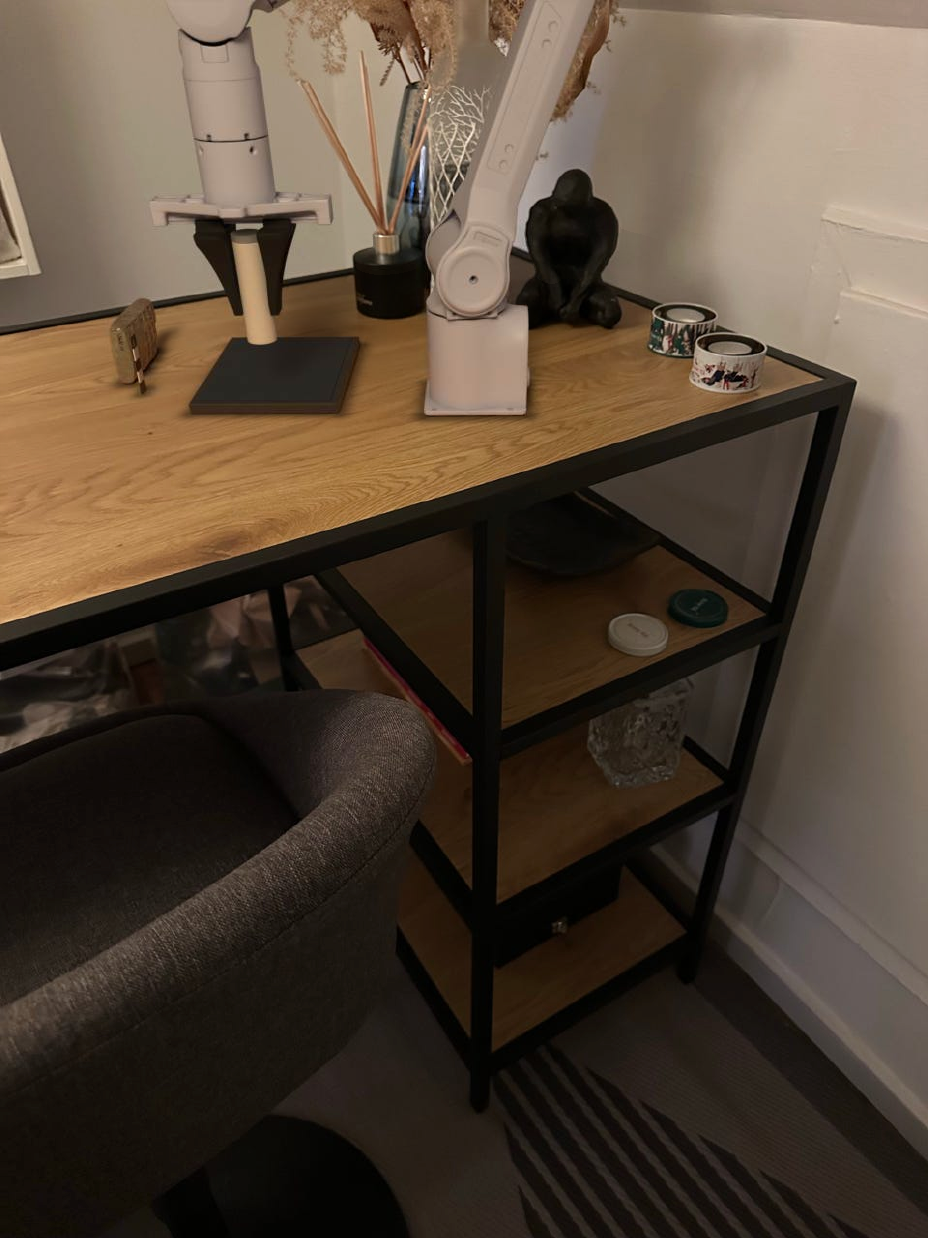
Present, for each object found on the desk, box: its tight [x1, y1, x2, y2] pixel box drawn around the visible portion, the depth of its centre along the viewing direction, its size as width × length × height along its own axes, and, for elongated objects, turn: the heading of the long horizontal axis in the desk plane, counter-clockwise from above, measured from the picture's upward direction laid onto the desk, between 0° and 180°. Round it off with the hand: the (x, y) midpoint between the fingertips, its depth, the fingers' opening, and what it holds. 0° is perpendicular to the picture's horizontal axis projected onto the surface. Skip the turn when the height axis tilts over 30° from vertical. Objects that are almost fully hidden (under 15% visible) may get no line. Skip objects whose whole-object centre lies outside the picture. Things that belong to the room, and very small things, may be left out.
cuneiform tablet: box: [109, 297, 158, 395], centre depth 89 cm, size 6×4×12 cm
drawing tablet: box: [188, 336, 361, 415], centre depth 88 cm, size 14×18×1 cm
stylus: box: [231, 228, 278, 345], centre depth 75 cm, size 3×3×9 cm
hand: (258, 312), depth 76 cm, fingers closed on stylus, 2 cm apart
